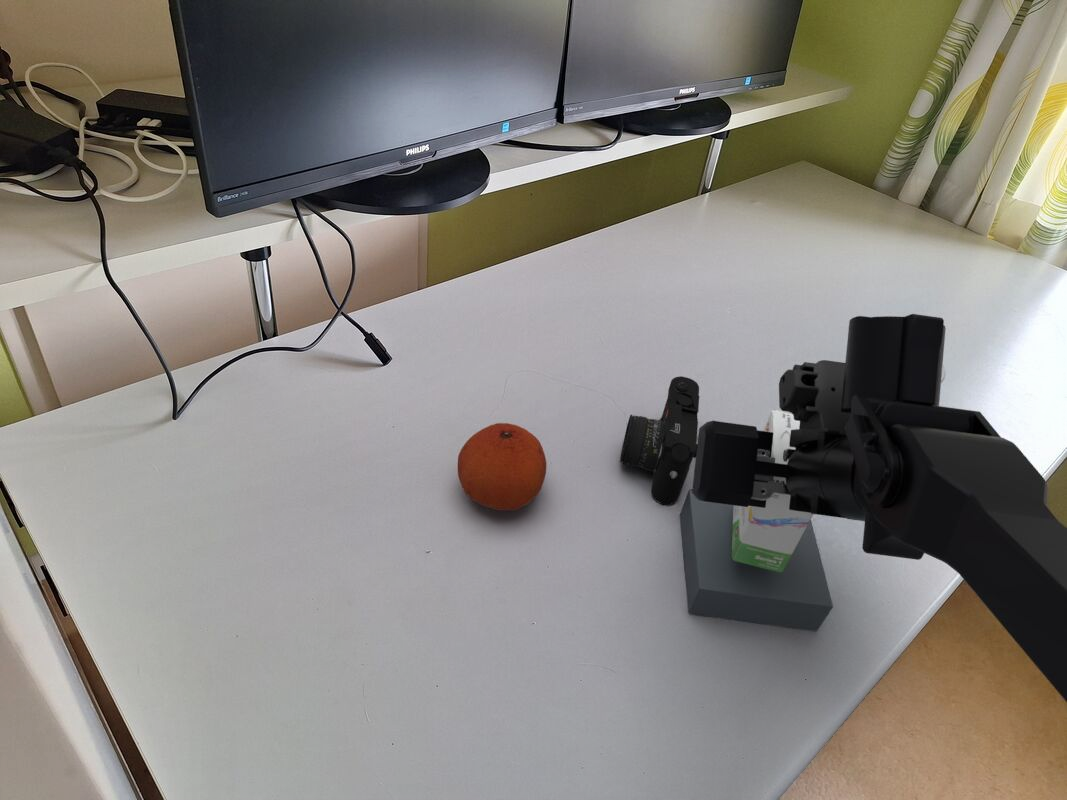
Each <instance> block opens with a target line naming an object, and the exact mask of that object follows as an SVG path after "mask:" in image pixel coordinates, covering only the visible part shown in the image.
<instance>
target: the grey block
mask: <svg viewBox="0 0 1067 800" xmlns="http://www.w3.org/2000/svg"><path fill="white" fill-rule="evenodd" d="M811 519H812V518H811ZM811 519H810V521H809V523H808V525H807V527H806V529H805V531H804V533H803V534H802V536H801V538H800V540H799V542H798V544H797V546H796V548H795V549H794V551H793V553H792V555H791V557H790V559H789V561H788V563H787V564H786V566H785V568H784V570H783V572H777V571H772V570H768V569H764V568H760V567H756V566H753V565H749V564H745V563H741V562H737V561H734V560H733V559H732V532H733V505H727V504H720V503H712V502H705V501H700V500H698V499H697V498H696V497H695V495H694V494H693V493H692V488H690V487H689V488H688V490H687V494H686V495H685V499H684V501H683V504H682V506H681V509H680V512H679V522H680V533H681V544H682V556H683V567H684V579H685V591H686V601H687V602H686V603H687V613H688V615H695V616H703V617H708V618H709V617H710V618H716V619H724V620H732V621H738V622H745V623H753V624H761V625H767V626H768V625H769V626H775V627H776V626H777V627H783V628H789V629H798V630H804V631H812V632H818V631H819V629H820V628H821V626H822V625H823V623H824V622H825V620H826V618H827V617H828V616H829V614H830V613H831V611H832V609H833V608H834V605H833V601H832V597H831V593H830V588H829V585H828V581H827V577H826V573H825V569H824V565H823V562H822V557H821V554H820V550H819V545H818V542H817V541H818V540H817V539H816V534H815V530H814V525H813V521H812V520H811Z"/></svg>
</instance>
